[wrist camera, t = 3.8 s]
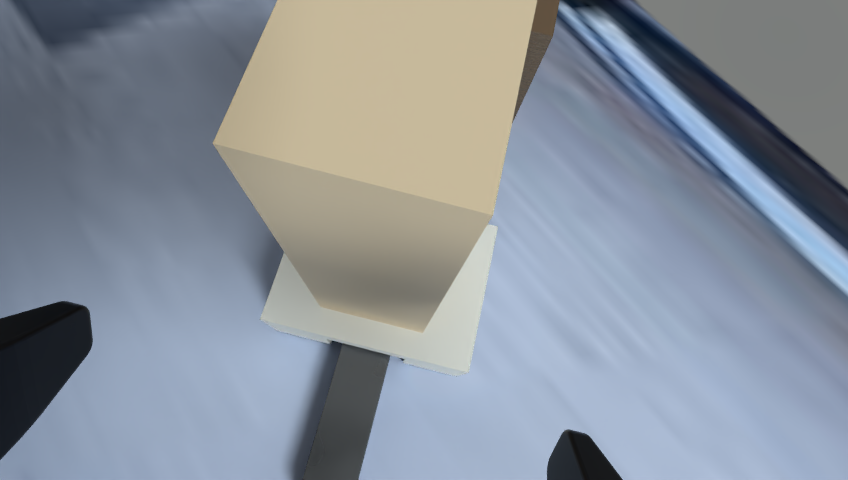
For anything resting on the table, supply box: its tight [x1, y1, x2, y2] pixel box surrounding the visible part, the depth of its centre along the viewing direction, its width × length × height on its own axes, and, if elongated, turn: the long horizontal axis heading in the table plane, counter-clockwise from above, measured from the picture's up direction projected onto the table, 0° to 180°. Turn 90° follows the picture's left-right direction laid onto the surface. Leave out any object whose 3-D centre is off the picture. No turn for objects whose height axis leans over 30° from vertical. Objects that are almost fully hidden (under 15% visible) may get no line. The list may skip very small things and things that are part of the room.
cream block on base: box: [213, 0, 537, 377], centre depth 14 cm, size 6×8×15 cm
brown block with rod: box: [303, 0, 559, 480], centre depth 19 cm, size 22×8×7 cm, turn 166°
